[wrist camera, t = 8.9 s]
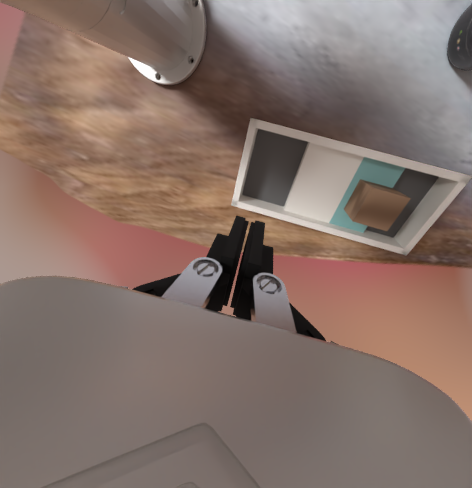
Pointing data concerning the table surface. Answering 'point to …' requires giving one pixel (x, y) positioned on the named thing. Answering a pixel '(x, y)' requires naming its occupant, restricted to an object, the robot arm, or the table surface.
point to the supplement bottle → (461, 42)
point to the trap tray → (337, 185)
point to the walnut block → (375, 205)
